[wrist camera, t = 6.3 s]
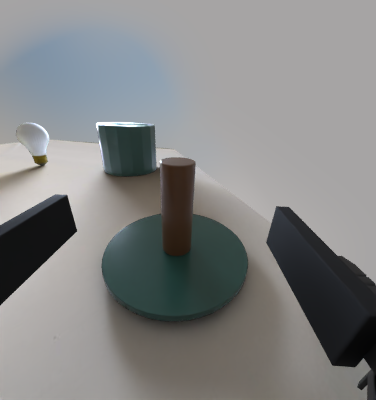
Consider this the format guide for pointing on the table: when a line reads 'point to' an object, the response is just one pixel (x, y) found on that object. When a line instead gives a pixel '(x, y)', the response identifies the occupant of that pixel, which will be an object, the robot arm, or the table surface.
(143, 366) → the table surface
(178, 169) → the lid
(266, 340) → the table surface
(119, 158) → the canister
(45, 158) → the light bulb
